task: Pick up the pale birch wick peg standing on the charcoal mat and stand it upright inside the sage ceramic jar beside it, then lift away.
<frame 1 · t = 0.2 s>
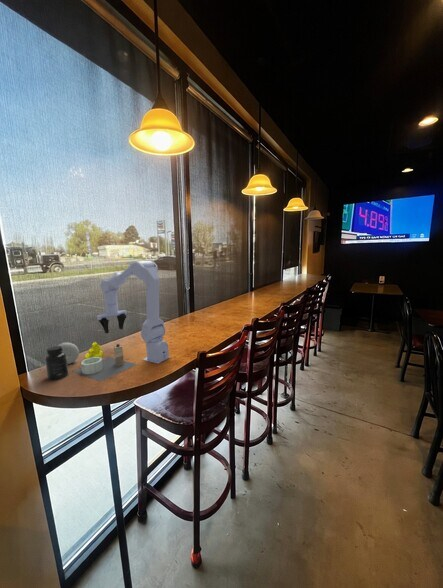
hand: (114, 330, 124), 10 cm above the bar counter, tool pointing down, fingers open, 7 cm apart
mat: (105, 368, 104), on the bar counter
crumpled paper: (94, 358, 116), on the bar counter
jar: (92, 370, 102), resting on mat
wick peg: (119, 364, 107), resting on mat
grey round disc: (67, 364, 110), on the bar counter
supplement bottle: (58, 377, 97), on the bar counter
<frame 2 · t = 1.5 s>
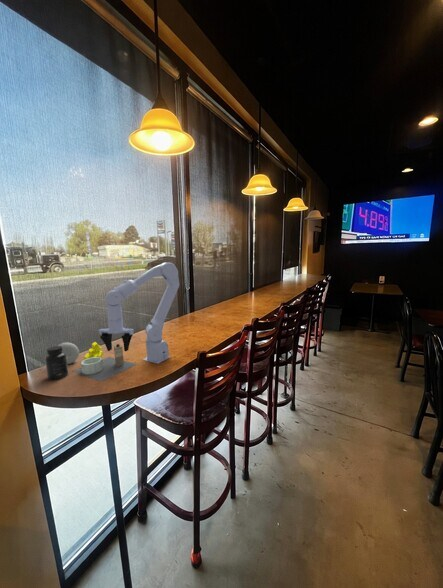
hand: (118, 350, 106), 7 cm above the bar counter, tool pointing down, fingers open, 7 cm apart
nothing on the bar counter moved.
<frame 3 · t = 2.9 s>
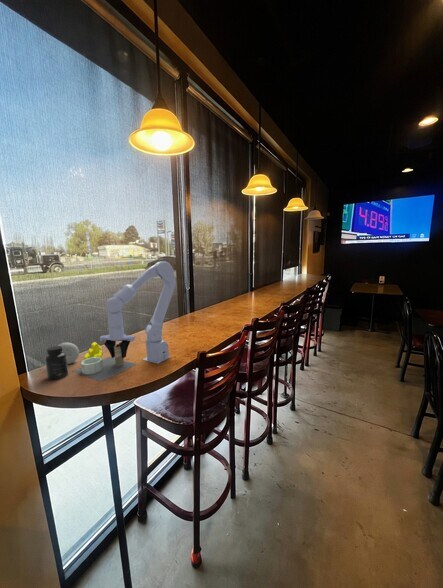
hand: (119, 357, 106), 4 cm above the bar counter, tool pointing down, fingers closed on wick peg, 4 cm apart
wick peg: (119, 364, 107), resting on mat, touching gripper
everything else where it was.
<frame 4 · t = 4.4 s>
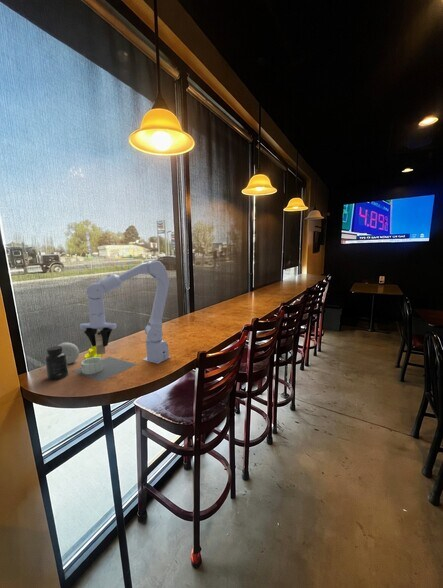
hand: (100, 345, 102), 10 cm above the bar counter, tool pointing down, fingers closed on wick peg, 4 cm apart
wick peg: (101, 353, 103), point 7 cm above the bar counter, touching gripper
everything else where it was.
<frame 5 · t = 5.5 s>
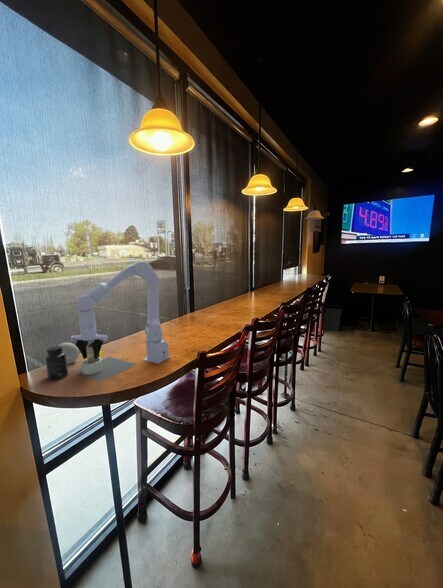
hand: (91, 357, 101), 6 cm above the bar counter, tool pointing down, fingers closed on wick peg, 4 cm apart
wick peg: (92, 365, 102), point 3 cm above the bar counter, touching gripper
everything else where it was.
when the fingers open (6 cm above the bar counter, at t = 6.3 s): wick peg drops 2 cm, resting on jar.
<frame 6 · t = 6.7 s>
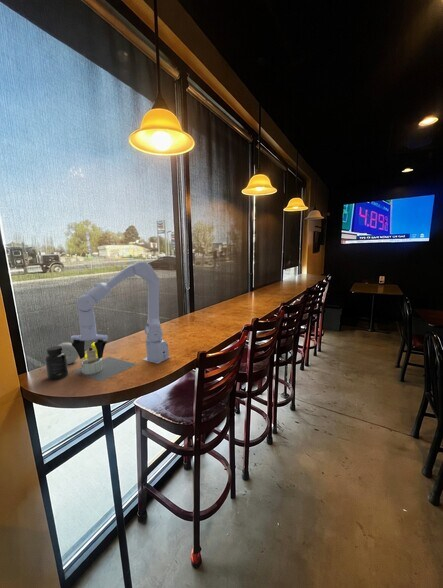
hand: (91, 357, 101), 6 cm above the bar counter, tool pointing down, fingers open, 7 cm apart
wick peg: (92, 368, 102), point 1 cm above the bar counter, touching jar
everything else where it was.
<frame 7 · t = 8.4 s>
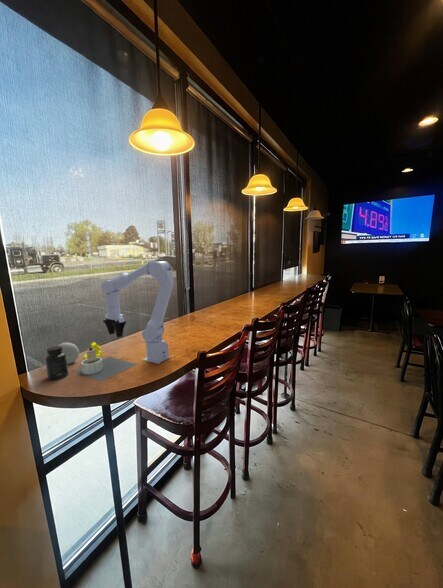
hand: (115, 335, 115), 10 cm above the bar counter, tool pointing down, fingers open, 7 cm apart
nothing on the bar counter moved.
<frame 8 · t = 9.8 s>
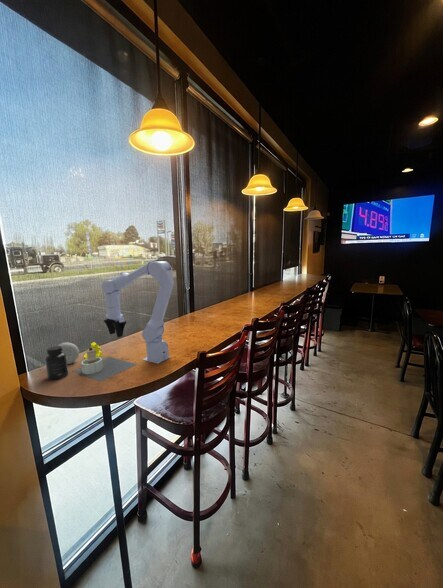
hand: (116, 335, 115), 10 cm above the bar counter, tool pointing down, fingers open, 7 cm apart
nothing on the bar counter moved.
at the end: wick peg 0.1 cm off-centre on the jar, point 0.6 cm above the jar's base; wick peg tilted 0°; the gripper is holding nothing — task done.
